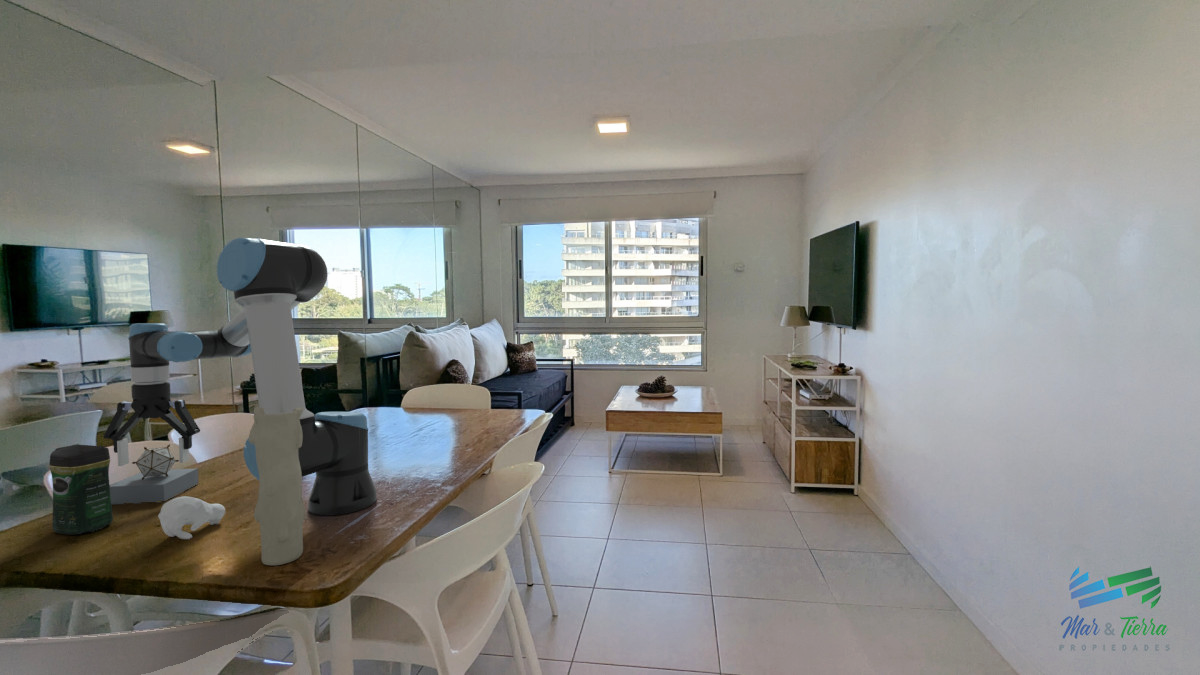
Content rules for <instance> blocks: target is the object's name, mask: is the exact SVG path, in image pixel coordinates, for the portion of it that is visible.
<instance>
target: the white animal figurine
mask: <svg viewBox="0 0 1200 675" xmlns="http://www.w3.org/2000/svg"><path fill="white" fill-rule="evenodd" d="M225 514H226V508H225V507H224V505H222V504H220V503H208V502H206V501H204V500H202V499H200V498H197V497H193V496H178V497H177V496H176V497H174V498H172V499H170V500H168V501H166V502H164V503H163V505H162V506H161V508H160V512H159V513H158V515H157V517H158V519H159V521H160V525H161V528H162V530H163V532H164V534H165V535H167V536H168V537H172V538H173V537H175V536H176V537H177V538H178V539H180V540H191V539H192V538H193V535H192V533H189V531H183V527H184V526H185V525H187V526H189V525H190V530H191V531H192V532H195V531H196V530H198V529H199V528H200V527H202V526H203V525H204V524H207V523H209V524H210V525H211V526H212V525H217V526H218V524H219V523H220V522H221V520H222V519H223V517H224V516H225ZM190 538H191V539H190Z"/></svg>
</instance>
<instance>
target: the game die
mask: <svg viewBox="0 0 1200 675" xmlns="http://www.w3.org/2000/svg"><path fill="white" fill-rule="evenodd" d="M170 447H171V444H167V446H165V447H164V446H163V447H156V448H148V447H146V446H143V448H144V451H143V452H142V454H141V455H140V456H139V457H138V459H137V461H132V462H131V464H133V465H136V466H137V468H138V470H139V471H140V473H142V474H143V476H144V477H142V480H143V479H144V478H145V477H148V476H156V475H166V476H167V477H168V474H167V472H168V471H169V470H170V469H172V467H173V465H174V464H175V463H177V462H180V459H176V458H175V457H174V456H173V454H172V452H171V450H170Z"/></svg>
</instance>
